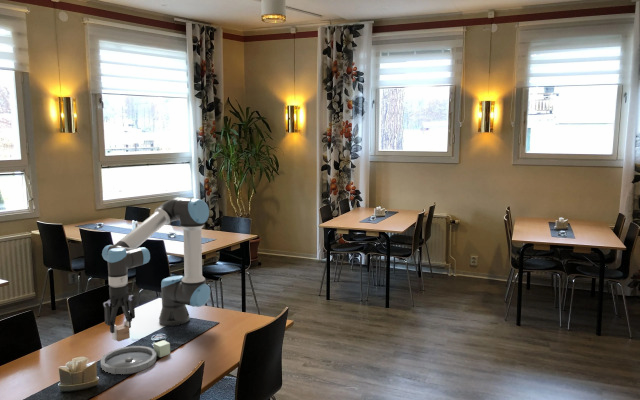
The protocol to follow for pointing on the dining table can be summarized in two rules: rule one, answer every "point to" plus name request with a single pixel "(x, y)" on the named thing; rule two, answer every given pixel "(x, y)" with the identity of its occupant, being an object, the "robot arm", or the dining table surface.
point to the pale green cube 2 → (162, 348)
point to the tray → (128, 360)
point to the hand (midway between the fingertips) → (121, 337)
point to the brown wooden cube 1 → (122, 332)
